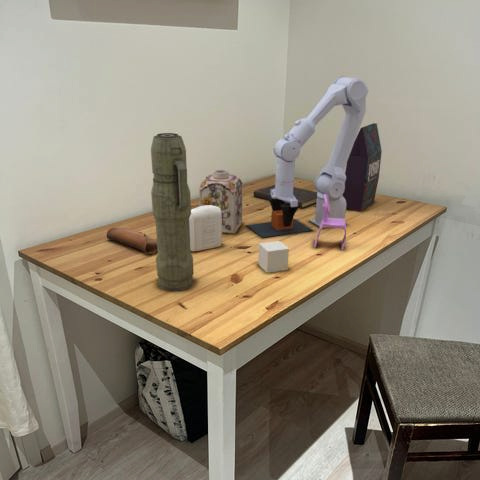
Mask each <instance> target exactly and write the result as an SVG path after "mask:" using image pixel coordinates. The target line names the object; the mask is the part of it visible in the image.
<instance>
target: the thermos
mask: <svg viewBox="0 0 480 480" xmlns="http://www.w3.org/2000/svg"><path fill="white" fill-rule="evenodd" d="M150 158H151V171H152V174H153V178H152V187H151V191H150V192H151V195H150V196H151V206H152V207H151V208H152V216H153V217H154V220H155V221H154V222H155V234H156V240H157V248H158V252H157V254H156V258H155V262H156V275H157V278H158V286H159V287H160V288H161V289H163V290H167V291H173V292H174V291H175V292H176V291H177V292H178V291H183V290H186V289H189V288H191V287H192V286H193V284H194V274H195V273H194V257H193V254H192V251H191V250H190V226H189V218H190V215H191V210H192V205H191V204H192V203H191V202H192V201H191V190H190V187H189V184H188V169H187V149H186V145H185V143H184V140H183V137H182V135H179V134H178V133H175V132H174V133H173V132H163V133H162V132H161V133H157V134H156V135H154V136H153V138H152V142H151V146H150Z"/></svg>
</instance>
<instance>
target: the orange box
mask: <svg viewBox="0 0 480 480" xmlns="http://www.w3.org/2000/svg"><path fill="white" fill-rule="evenodd" d="M293 219H295V217H293ZM270 222H271V226H272V227H273V228H275V229H276V230H284V229H291V228H293V220H292V223H291V226H287V227H285V226H284V224H283V212H282V210H277V211H272V210H271V218H270Z"/></svg>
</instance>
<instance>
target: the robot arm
mask: <svg viewBox="0 0 480 480" xmlns="http://www.w3.org/2000/svg"><path fill="white" fill-rule="evenodd" d="M368 93H369V89H368V87H367V84H366V82H365V80H363V78H360V77H356V78H355V77H347V76H343V75H341V76H339V77H336V79H335V80H334V81H333V83H332V84H331V85H329V86H328V88H327V91H326V93H325V94H324V95H323V97H321V99H320V100H319V102H318V103H317V104H316V106H315V107H314V108H313V109H312V110H311V112H310V113H309V114H308V116H307V117H303V118H300V119H299V120H298V119H297V120H296V121H295V122H294V124H295V125H294V126H293V127H292V128H291V129H290V130H289V132H288V133H285V134H284V138H281V139H279V140H277V142H275V145H274V148H273V149H272V150H273V154H274V156H275V157H276V163H275V180H274V181H275V183H274V185H275V189H271V197H272V198H269V200H268V202H269V203H270V206H271V212H272V211H277V210H282V212H283V224H284V226H285V227H287V226H291V223H292V220H293V219H294V218H295V217H294V216H295V215H296V212H297V211H298V210H299V209H300V208H299V205H298V200H296V198H295V197H294V195H293V187H295V186H294V184H295V171H296V169H295V168H296V160H297V158H299V156H300V152H301V149H302V148H303V146H304V145H305V144H306V143H307V142H308V141H309V140H310V139H311V137H312V136H313V135H314V134H315V132H316V126H317V125H318V124H319V123H320V122H321V121H322V119H324V118H325V116H327V114H328V113H330V112H331V110H332V109H333V108H334V107H336V106H342V108H343V110H344V112H345V115H344V118H343V121H342V123H341V126H340V129H339V131H338V133H337V134H338V135H337V137H336V140H335V143H334V146H333V149H332V151H331V154H330V156H329V160H328V162H327V164H326V165H324V166H323V167H322V168H321V170H320V172H319V174H318V175H317V176H316V178H315V179H314V188H315V190H316V192H317V203H316V205H315V214H314V215H315V216H314V218H311V219H309V222H311V223H312V224H314V225H316V226H318V228H320V224H321V221H322V220H323V203H325V201H324V194H327V195H328V197H329V205H330V212H329V213H330V215H328V218H336V219H345V220H346V212H347V209H346V200H345V198H344V197H343V193H344V190H345V181H346V175H345V170H346V165H347V160H348V158H349V155H350V152H351V150H352V147H353V144H354V142H355V139H356V137H357V135H358V133H359V131H360V129H361V125H362V123H363V120H364V117H365V115H366V112H367V111H366V110H367V109H366V107H367V101H366V100H367V96H368ZM285 202H286V204H284V203H285ZM293 217H294V218H293Z"/></svg>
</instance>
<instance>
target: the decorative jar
mask: <svg viewBox="0 0 480 480" xmlns="http://www.w3.org/2000/svg"><path fill="white" fill-rule="evenodd" d="M198 196H199V199H198V202H199V203H198V204H199V207H200V206H205V205H213V206H217V207H219V208H220V209H221V213H222V234H228V235H229V234H230V235H236V233H237V232H238V230H239V228H240V227H241V225H242V223H243V182H242V180H241V178H240V177H238V176H237V175H235V174H232V173H231V174H230V172H229V170H227V169H214V170H213V174H208V175H205V176H203V178H202V180H201V183H200V186H199V188H198Z"/></svg>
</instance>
